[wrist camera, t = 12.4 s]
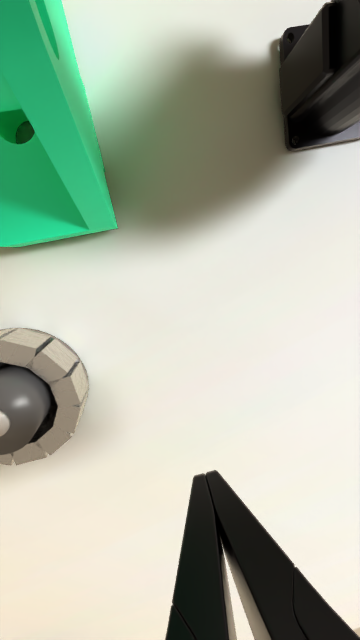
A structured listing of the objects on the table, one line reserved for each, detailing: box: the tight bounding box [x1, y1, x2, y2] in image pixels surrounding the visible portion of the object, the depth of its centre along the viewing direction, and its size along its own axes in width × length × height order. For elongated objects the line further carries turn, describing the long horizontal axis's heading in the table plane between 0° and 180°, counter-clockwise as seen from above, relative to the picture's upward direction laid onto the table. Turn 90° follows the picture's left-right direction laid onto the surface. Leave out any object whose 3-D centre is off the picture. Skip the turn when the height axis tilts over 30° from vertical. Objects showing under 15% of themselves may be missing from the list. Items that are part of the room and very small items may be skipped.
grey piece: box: [0, 328, 89, 465], centre depth 18 cm, size 10×10×3 cm
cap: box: [0, 363, 56, 455], centre depth 17 cm, size 5×5×4 cm
